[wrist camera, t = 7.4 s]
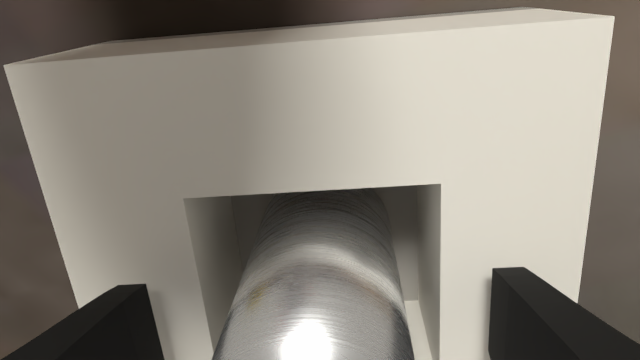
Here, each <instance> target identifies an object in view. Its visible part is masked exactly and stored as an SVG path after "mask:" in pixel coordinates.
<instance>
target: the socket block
mask: <svg viewBox="0 0 640 360" xmlns="http://www.w3.org/2000/svg"><path fill="white" fill-rule="evenodd" d="M614 18H615V16H606V15H596V14H587V13H577V12H568V11H558V10H549V9H539V8H530V7H518V8H506V9H493V10H481V11H469V12H457V13H445V14H433V15H420V16H408V17H396V18H384V19H372V20H360V21H347V22H335V23H323V24H311V25H299V26H287V27H274V28H262V29H250V30H238V31H226V32H214V33H201V34H189V35H177V36H165V37H153V38H141V39H128V40H116V41H108V42H104V43H99V44H95V45H90V46H86V47H82V48H77V49H73V50H68V51H64V52H60V53H55V54H51V55H46V56H42V57H37V58H33V59H29V60H24V61H20V62H15V63H11V64H7V65H3V66H4V69H5V72H6V75H7V79H8V82H9V85H10V88H11V91H12V95H13V98H14V101H15V104H16V108H17V111H18V114H19V117H20V120H21V124H22V127H23V130H24V133H25V137H26V140H27V143H28V146H29V149H30V153H31V156H32V159H33V162H34V166H35V169H36V172H37V175H38V178H39V182H40V185H41V188H42V191H43V195H44V198H45V201H46V204H47V207H48V211H49V214H50V217H51V220H52V224H53V227H54V230H55V233H56V237H57V240H58V243H59V246H60V249H61V253H62V256H63V259H64V262H65V266H66V269H67V272H68V275H69V278H70V282H71V285H72V288H73V291H74V295H75V298H76V301H77V304H78V307H79V309H80V308H81V307H83V306H84V305H86V304H87V303H89V302H90V301H92V300H93V299H95V298H97V297H98V296H100V295H101V294H103V293H105V292H106V291H108V290H110V289H112V288H114V287H115V286H117V285H127V284H146V286H147V290H148V294H149V298H150V302H151V306H152V311H153V315H154V319H155V323H156V327H157V331H158V335H159V339H160V343H161V347H162V351H163V355H164V359H165V360H212V357H213V354H214V352H215V349H216V346H217V343H218V341H219V338H220V335H221V332H222V330H223V327H224V324H225V321H226V319H227V316H228V313H229V310H230V308H231V305H232V302H233V299H234V297H235V294H236V291H237V289H238V286H239V283H240V280H241V278H242V275H243V272H244V269H245V267H246V264H247V261H248V258H249V256H250V253H251V250H252V247H253V245H254V242H255V239H256V236H257V234H258V231H259V228H260V225H261V223H262V220H263V217H264V214H265V212H266V209H267V206H268V204H269V202H270V200H271V198H272V197H273V195H274V194H275V193H288V192H305V191H322V190H340V189H357V188H372V189H373V190H374V191H375V192H376V193H377V194H378V196H379V197H380V198H381V200H382V202H383V203H384V205H385V208H386V210H387V214H388V217H389V222H390V228H391V233H392V239H393V244H394V250H395V255H396V260H397V266H398V271H399V277H400V282H401V288H402V293H403V298H404V304H405V309H406V315H407V320H408V325H409V331H410V336H411V342H412V347H413V353H414V358H415V360H491V359H490V355H489V352H488V342H489V323H490V304H491V286H492V268H507V267H525V268H526V269H528V270H530V271H531V272H533V273H534V274H536V275H537V276H539V277H540V278H541V279H543V280H544V281H546V282H547V283H549V284H550V285H551V286H553V287H554V288H556V289H557V290H559V291H560V292H561V293H563V294H564V295H566V296H567V297H569V298H570V299H571V300H573V301H574V302H576V303H578V295H579V288H580V280H581V272H582V264H583V257H584V249H585V241H586V234H587V226H588V218H589V211H590V203H591V195H592V187H593V180H594V172H595V164H596V157H597V149H598V141H599V133H600V126H601V118H602V110H603V103H604V95H605V87H606V80H607V72H608V64H609V56H610V49H611V41H612V33H613V26H614Z"/></svg>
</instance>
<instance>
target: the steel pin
mask: <svg viewBox="0 0 640 360" xmlns="http://www.w3.org/2000/svg"><path fill="white" fill-rule="evenodd" d="M212 360H415V358H414V353H413V347H412V342H411V336H410V331H409V325H408V320H407V315H406V309H405V304H404V298H403V293H402V288H401V282H400V277H399V271H398V266H397V260H396V255H395V250H394V244H393V239H392V233H391V228H390V222H389V217H388V214H387V210H386V208H385V205H384V203H383V202H382V200H381V198H380V197H379V196H378V194H377V193H376V192H375V191H374V190H373V189H372V188H357V189H340V190H322V191H305V192H288V193H275V194H274V195H273V197H272V198H271V200H270V202H269V204H268V206H267V209H266V212H265V214H264V217H263V220H262V223H261V225H260V228H259V231H258V234H257V236H256V239H255V242H254V245H253V247H252V250H251V253H250V256H249V258H248V261H247V264H246V267H245V269H244V272H243V275H242V278H241V280H240V283H239V286H238V289H237V291H236V294H235V297H234V299H233V302H232V305H231V308H230V310H229V313H228V316H227V319H226V321H225V324H224V327H223V330H222V332H221V335H220V338H219V341H218V343H217V346H216V349H215V352H214V354H213V357H212Z"/></svg>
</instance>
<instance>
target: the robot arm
mask: <svg viewBox="0 0 640 360" xmlns="http://www.w3.org/2000/svg"><path fill="white" fill-rule="evenodd" d="M488 352H489V355H490V359H491V360H640V344H638V343H636V342H635V341H633V340H631V339H630V338H628V337H627V336H625V335H624V334H622V333H621V332H619V331H617V330H616V329H614V328H613V327H611V326H610V325H608V324H607V323H605V322H604V321H602V320H601V319H599V318H598V317H596V316H595V315H593V314H592V313H590V312H589V311H587V310H586V309H584V308H583V307H581V306H580V305H579V304H577V303H576V302H574V301H573V300H571V299H570V298H569V297H567V296H566V295H564V294H563V293H561V292H560V291H559V290H557V289H556V288H554V287H553V286H551V285H550V284H549V283H547V282H546V281H544V280H543V279H541V278H540V277H539V276H537V275H536V274H534V273H533V272H531V271H530V270H528V269H526V268H525V267H507V268H492V286H491V304H490V323H489V342H488ZM1 360H165V359H164V355H163V351H162V347H161V343H160V339H159V335H158V331H157V327H156V323H155V319H154V315H153V311H152V306H151V302H150V298H149V294H148V290H147V286H146V284H127V285H117V286H115V287H114V288H112V289H110V290H108V291H106V292H105V293H103V294H101V295H100V296H98V297H97V298H95V299H93V300H92V301H90V302H89V303H87V304H86V305H84V306H83V307H81V308H80V309H78V310H77V311H75V312H74V313H72V314H71V315H69V316H68V317H66V318H65V319H63V320H62V321H60V322H59V323H57V324H56V325H54V326H53V327H51V328H50V329H48V330H47V331H45V332H43V333H42V334H40V335H39V336H37V337H36V338H34V339H33V340H31V341H30V342H28V343H27V344H25V345H24V346H22V347H20V348H19V349H17V350H16V351H14V352H12V353H11V354H9V355H8V356H6V357H4V358H3V359H1Z"/></svg>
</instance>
